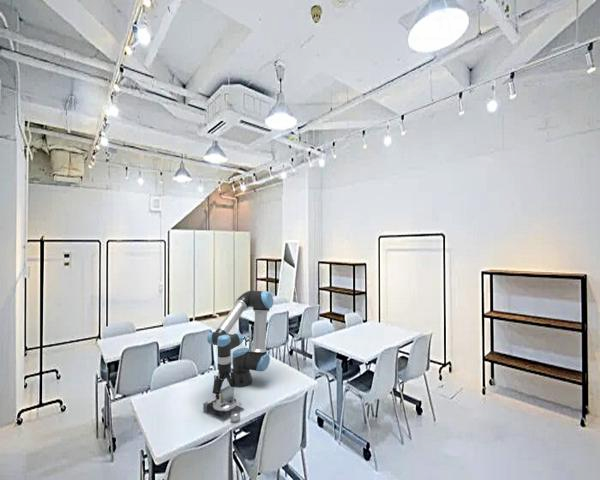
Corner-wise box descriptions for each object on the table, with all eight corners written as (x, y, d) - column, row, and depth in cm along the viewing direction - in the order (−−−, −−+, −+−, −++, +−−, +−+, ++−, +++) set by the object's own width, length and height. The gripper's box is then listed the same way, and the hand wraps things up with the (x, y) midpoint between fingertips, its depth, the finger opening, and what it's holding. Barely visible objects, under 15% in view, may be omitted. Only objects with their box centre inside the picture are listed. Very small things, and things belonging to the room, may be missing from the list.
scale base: (223, 401, 205) (223, 392, 205) (243, 409, 194) (243, 400, 194) (203, 411, 193) (203, 402, 193) (223, 421, 182) (223, 411, 182)
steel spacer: (235, 417, 186) (235, 410, 186) (242, 419, 183) (241, 412, 183) (229, 421, 182) (229, 414, 182) (235, 424, 179) (235, 416, 179)
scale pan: (226, 399, 202) (226, 395, 202) (242, 406, 194) (242, 401, 194) (207, 409, 191) (207, 404, 191) (223, 417, 183) (223, 412, 183)
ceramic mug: (215, 401, 192) (215, 388, 192) (227, 396, 198) (227, 384, 198) (225, 408, 185) (225, 394, 185) (237, 402, 191) (237, 389, 190)
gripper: (233, 355, 203) (234, 392, 203) (205, 367, 186) (206, 406, 186) (242, 358, 199) (242, 395, 199) (213, 370, 181) (214, 410, 182)
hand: (225, 400), depth 192 cm, fingers closed on ceramic mug, 8 cm apart
